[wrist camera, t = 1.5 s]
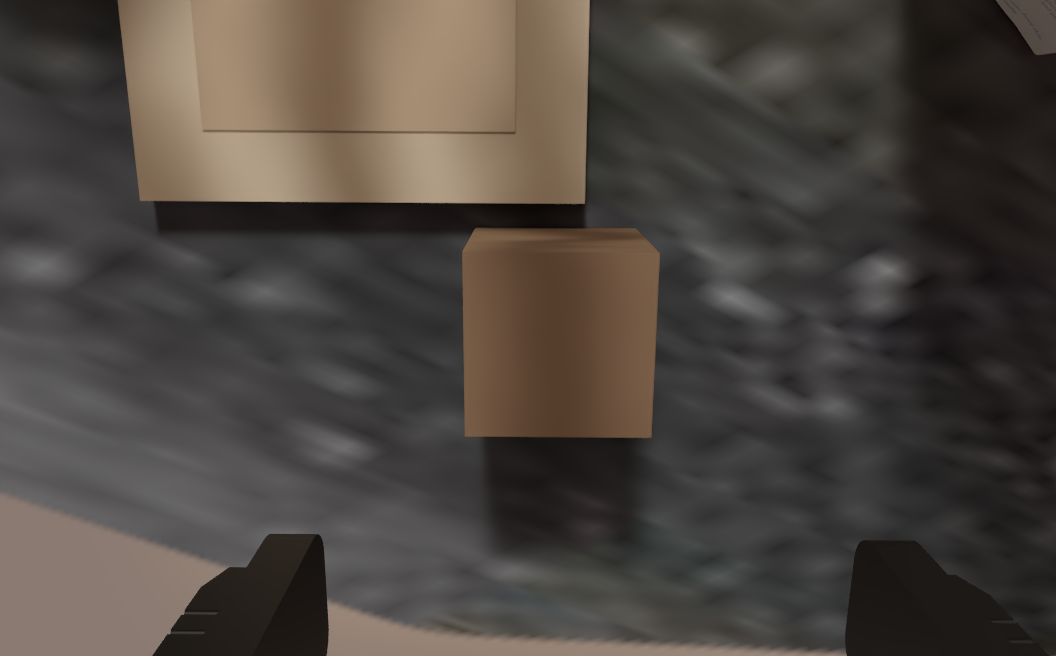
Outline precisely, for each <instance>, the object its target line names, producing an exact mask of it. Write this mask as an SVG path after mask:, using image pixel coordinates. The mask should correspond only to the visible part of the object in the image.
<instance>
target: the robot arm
mask: <svg viewBox="0 0 1056 656" xmlns="http://www.w3.org/2000/svg"><path fill="white" fill-rule="evenodd" d="M328 630H329V628H328V609H327V593H326V576H325V559H324V547H323V541H322V538H321V536H320V535H318V534H269V535H268V536H267V537H266V538H265V539H264V541H263V542H262V544H261V546H260V547H259V549H258V550H257V552H256V553H255V555H254V557H253V558H252V560H251V561H250V563H249V564H248V566H247V567H246V568H243V567H229V568H228V569H226V570H225V571H223V572H222V573H221V574H219V575H218V576H216V577H215V578H213V579H212V580H211V581H209V582H208V583H206V584H205V585H203V586H202V587H201V588H200V589H199V591H198V592H197V594H196V595H195V596H194V598H193V599H192V601H191V602H190V603H189V605H188V606H187V608H186V609H185V613H184V615H181V616H180V618H179V619H178V620H177V622H176V623H175V625H174V626H173V627H172V629H171V634H167V636H166V637H165V639H164V640H163V641H162V643H161V644H160V646H159V647H158V649H157V650H156V651H155V653H154V654H153V656H326V655H327V647H328ZM845 644H846V653H847V656H1048V655H1047V654H1046V652H1045V651H1044V650H1043V649H1042V648H1041V647H1040V646H1039V645H1038V644H1033V643H1032V638H1031V637H1030V636H1029V635H1028V634H1027V633H1026V632H1025V631H1024V630H1023V629H1022V628H1021V627H1020V626H1019V625H1018V624H1014V623H1013V619H1012V618H1011V617H1010V616H1009V615H1008V614H1007V612H1006V611H1005V610H1004V609H1003V608H1002V607H1001V606H1000V605H999V604H998V603H997V602H996V601H995V600H994V599H993V598H992V597H991V596H990V595H988V594H987V593H985V592H983V591H982V590H980V589H978V588H977V587H975V586H973V585H972V584H970V583H968V582H967V581H965V580H963V579H962V578H960V577H958V576H957V575H947V573H946V572H945V571H944V570H943V569H942V568H941V567H940V566H939V565H938V564H937V563H936V562H935V560H934V559H933V558H932V557H931V556H930V555H929V554H928V553H927V552H926V551H925V550H924V549H923V548H922V546H921V545H920V544H918V543H917V542H915V541H887V540H864V541H861V542H860V543H859V544H858V546H857V549H856V552H855V557H854V565H853V573H852V581H851V590H850V598H849V607H848V615H847V623H846V633H845Z"/></svg>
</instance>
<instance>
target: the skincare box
mask: <svg viewBox="0 0 1056 656" xmlns="http://www.w3.org/2000/svg"><path fill="white" fill-rule="evenodd" d="M996 2H997V3H998V4H999V5H1000V7H1001V8H1002V9H1003V10H1004V12H1005V13H1006V14H1007V15H1008V17H1009V18H1010V19H1011V20H1012V22H1013V23H1014V24H1015V25H1016V27H1017V28H1018V30H1019V31H1020V33H1021V34H1022V36H1023V37H1024V39H1025V40H1026V42H1027V43H1028V45H1029V46H1030V48H1031V49H1032V51H1033V52H1034V53H1035V54H1036V55H1044V54H1050V53H1056V0H996Z"/></svg>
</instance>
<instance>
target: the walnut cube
mask: <svg viewBox="0 0 1056 656" xmlns="http://www.w3.org/2000/svg"><path fill="white" fill-rule="evenodd" d="M659 260H660V253H659V252H658V251H657V250H656V249H655V248H654V247H653V246H652V245H651V243H650V242H649V241H648V240H647V239H646V238H645V237H644V236H643V235H642V234H641V233H640V232H639V231H638V230H637V229H636V228H511V227H476V228H475V230H474V231H473V233H472V235H471V237H470V239H469V241H468V242H467V244H466V246H465V248H464V250H463V251H462V263H463V332H464V401H465V436H470V437H600V438H651V432H652V411H653V389H654V368H655V346H656V325H657V303H658V282H659Z"/></svg>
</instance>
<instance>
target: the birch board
mask: <svg viewBox="0 0 1056 656" xmlns="http://www.w3.org/2000/svg"><path fill="white" fill-rule="evenodd" d="M118 8H119V17H120V26H121V35H122V44H123V53H124V62H125V70H126V79H127V88H128V97H129V106H130V115H131V124H132V133H133V142H134V151H135V160H136V169H137V177H138V186H139V195H140V201H239V202H384V203H530V204H585V177H586V134H587V92H588V50H589V8H590V0H118Z"/></svg>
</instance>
